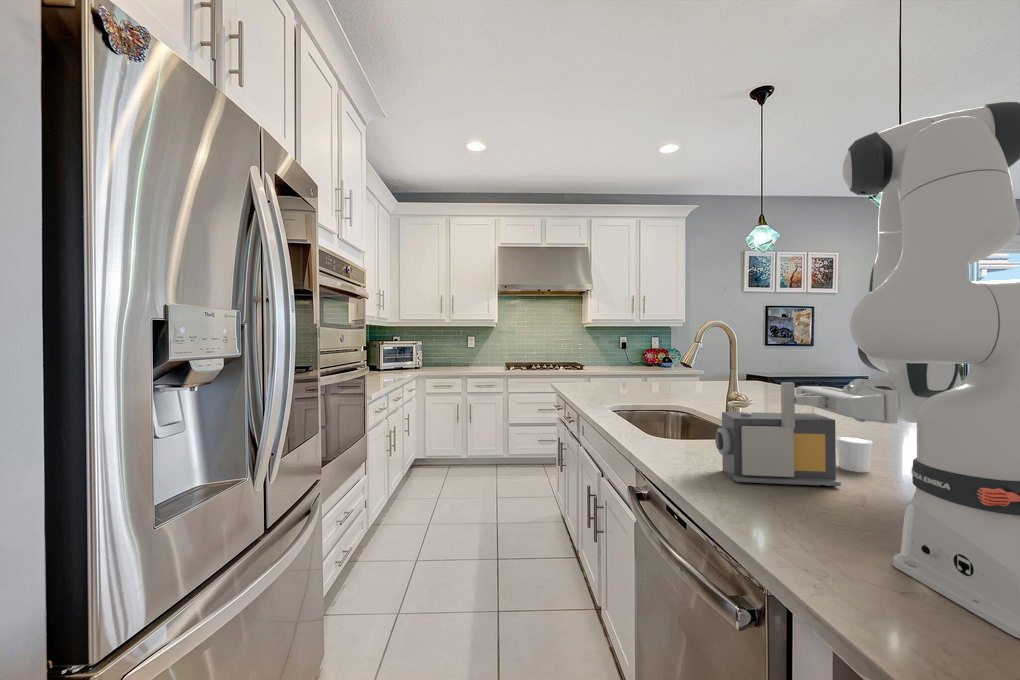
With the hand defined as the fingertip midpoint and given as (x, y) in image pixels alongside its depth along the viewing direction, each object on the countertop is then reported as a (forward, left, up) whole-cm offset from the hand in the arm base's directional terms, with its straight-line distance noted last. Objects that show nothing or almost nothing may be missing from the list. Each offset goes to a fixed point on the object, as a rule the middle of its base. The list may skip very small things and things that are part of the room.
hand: (793, 399), depth 89 cm
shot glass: (+15, -20, -19) cm, 31 cm away
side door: (0, +5, -16) cm, 17 cm away
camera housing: (+4, +2, -18) cm, 19 cm away
